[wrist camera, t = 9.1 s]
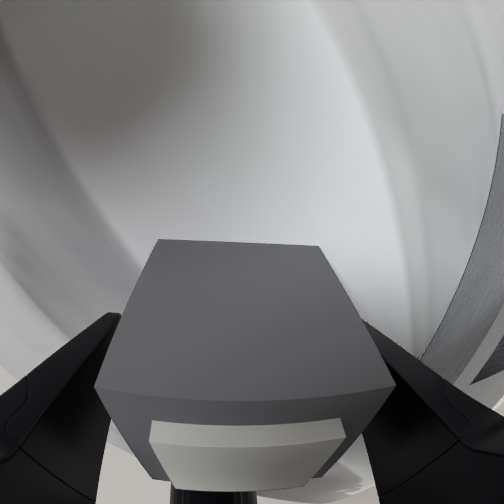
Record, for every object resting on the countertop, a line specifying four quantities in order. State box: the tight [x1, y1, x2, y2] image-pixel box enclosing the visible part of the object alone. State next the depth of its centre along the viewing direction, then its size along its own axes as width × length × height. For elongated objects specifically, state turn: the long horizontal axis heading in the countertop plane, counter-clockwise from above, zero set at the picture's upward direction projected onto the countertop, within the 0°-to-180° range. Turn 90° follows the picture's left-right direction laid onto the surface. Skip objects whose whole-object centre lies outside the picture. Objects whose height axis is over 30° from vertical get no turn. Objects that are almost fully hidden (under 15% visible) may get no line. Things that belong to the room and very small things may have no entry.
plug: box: [94, 239, 396, 492], centre depth 7 cm, size 4×4×5 cm
